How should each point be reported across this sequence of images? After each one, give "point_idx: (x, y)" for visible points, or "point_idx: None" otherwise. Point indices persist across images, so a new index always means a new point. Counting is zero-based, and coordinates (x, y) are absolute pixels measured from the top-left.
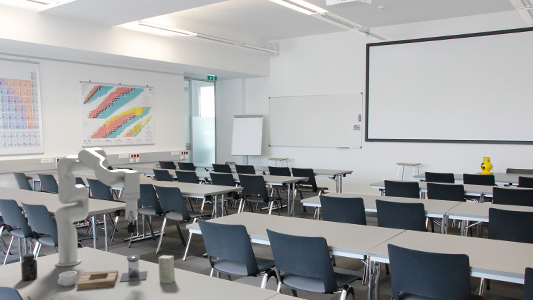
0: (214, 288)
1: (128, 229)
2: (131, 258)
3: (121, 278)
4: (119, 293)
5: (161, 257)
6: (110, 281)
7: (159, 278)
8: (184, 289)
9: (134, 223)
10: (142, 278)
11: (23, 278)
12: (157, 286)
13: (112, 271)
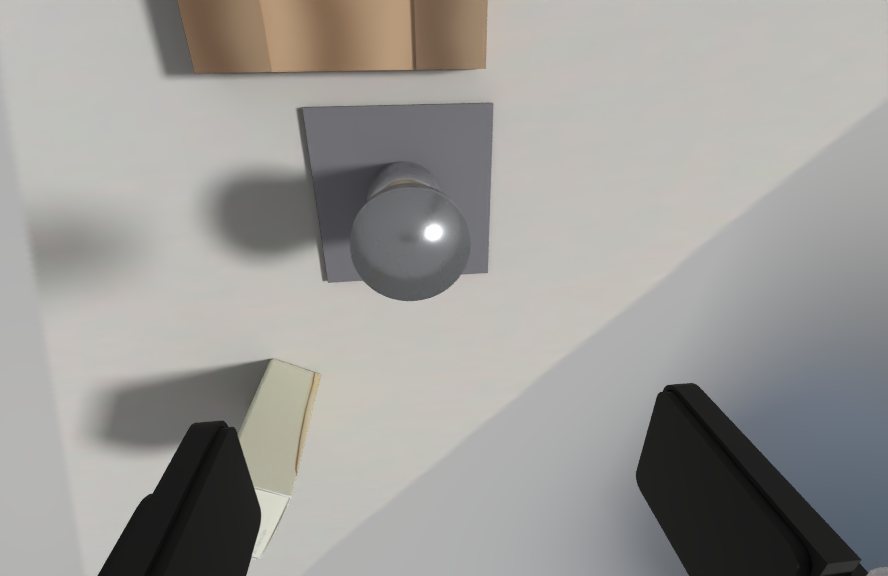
0: None
1: (160, 504)
2: (366, 237)
3: (366, 112)
4: (54, 139)
5: None
6: (188, 41)
7: (264, 373)
8: (157, 472)
9: (697, 553)
10: (343, 261)
11: None
12: (203, 354)
13: (450, 20)
